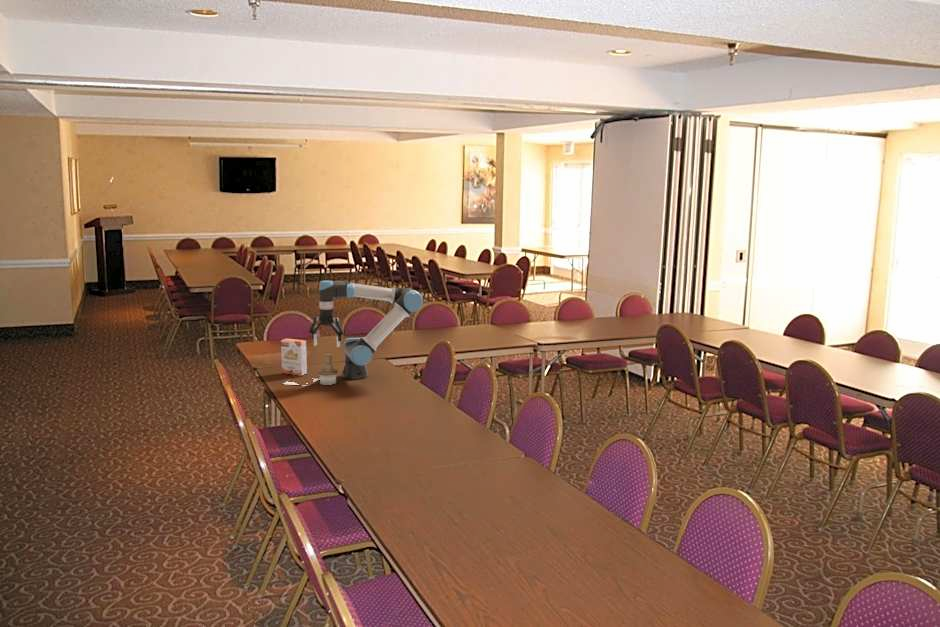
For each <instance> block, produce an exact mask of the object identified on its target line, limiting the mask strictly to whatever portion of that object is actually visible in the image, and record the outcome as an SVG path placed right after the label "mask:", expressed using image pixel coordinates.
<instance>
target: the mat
mask: <svg viewBox="0 0 940 627" xmlns="http://www.w3.org/2000/svg"><path fill="white" fill-rule="evenodd" d="M313 379H314V380H313V382H316V381H318V380H320V378H313ZM288 381H289V380H287V381H285V382H283V383H282V384H284V385H283V386H291V385H299V384H297V383H295V382H288ZM318 382H319V381H318ZM316 383H317V382H316ZM306 384H308V383H306ZM305 386H307V385H302V386H301V387H305Z"/></svg>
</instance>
